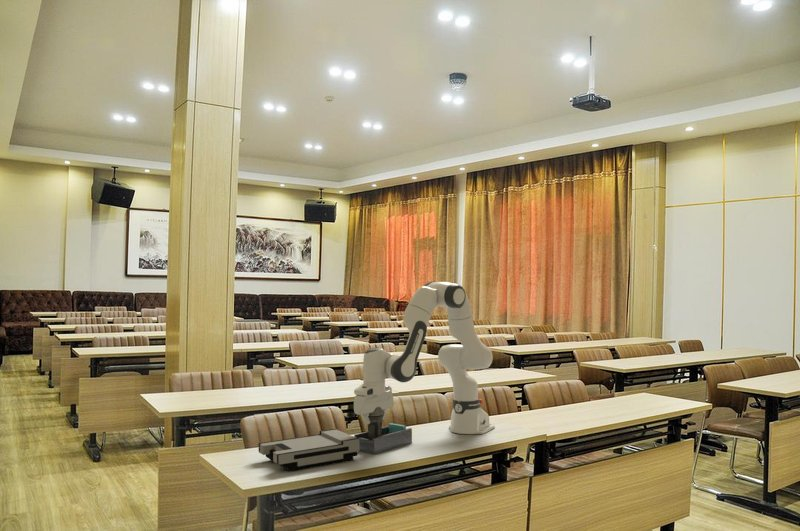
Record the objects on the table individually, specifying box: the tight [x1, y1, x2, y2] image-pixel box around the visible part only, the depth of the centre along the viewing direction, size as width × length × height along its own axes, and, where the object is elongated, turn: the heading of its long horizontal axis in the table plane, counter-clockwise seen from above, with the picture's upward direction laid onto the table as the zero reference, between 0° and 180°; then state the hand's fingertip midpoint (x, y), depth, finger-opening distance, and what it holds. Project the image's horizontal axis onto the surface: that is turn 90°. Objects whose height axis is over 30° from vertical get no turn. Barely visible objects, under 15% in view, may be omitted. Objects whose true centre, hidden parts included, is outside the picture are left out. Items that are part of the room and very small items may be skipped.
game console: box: [258, 428, 360, 473], centre depth 226 cm, size 21×32×8 cm, turn 122°
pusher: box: [388, 422, 407, 434], centre depth 253 cm, size 2×8×6 cm, turn 49°
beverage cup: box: [366, 407, 383, 440], centre depth 242 cm, size 7×7×20 cm
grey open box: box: [353, 425, 413, 455], centre depth 246 cm, size 23×11×6 cm, turn 139°
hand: (374, 422), depth 242 cm, fingers closed on beverage cup, 7 cm apart
